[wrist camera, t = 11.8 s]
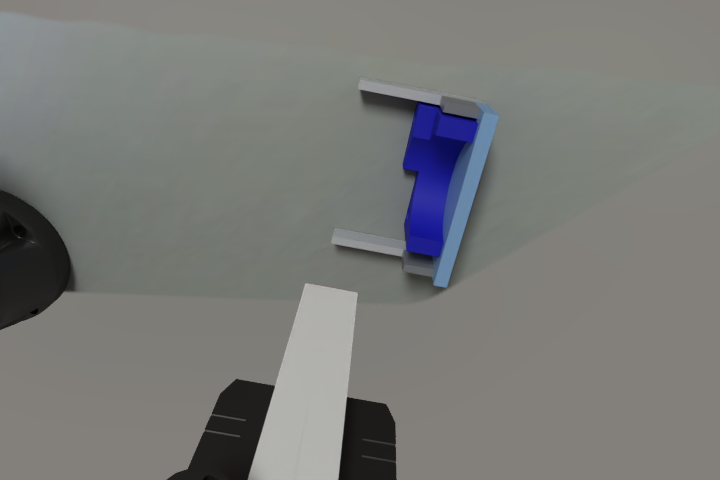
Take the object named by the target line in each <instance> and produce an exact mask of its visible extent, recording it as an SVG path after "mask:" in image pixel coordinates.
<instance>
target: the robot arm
mask: <svg viewBox="0 0 720 480" xmlns="http://www.w3.org/2000/svg"><path fill="white" fill-rule="evenodd" d="M68 278H69V261H68V256H67V253H66V250H65V247H64V245H63V243H62V241H61V239H60V237H59V236H58V234H57V233H56V231H55V230H54V228H53V227H52V226H51V225H50V223H49V222H48V221H47V220H46V219H45V218H44V217H43V216H42V215H41V214H40V213H39V212H38V211H36V210H35V209H34V208H33V207H31V206H30V205H29V204H27V203H26V202H24V201H22V200H21V199H19V198H17V197H15V196H13V195H11V194H9V193H7V192H4V191H1V190H0V330H1V329H4V328H6V327H9V326H11V325H14V324H16V323H18V322H21V321H24V320H27V319H29V318H32V317H34V316H36V315H38V314H40V313H41V312H42V311H44V310H45V309H46V308H47V307H49V306H50V305H51V304H52V303H53V302H54V301H56V300H57V299H58V298H59V297H60V296H61V294H62V293H63V291H64V290H65V288H66V285H67V282H68ZM357 294H358V293H356V292H351V291H345V290H340V289H334V288H329V287H323V286H318V285H312V284H307V283H306V284H305V287H304V290H303V294H302V297H301V301H300V304H299V308H298V311H297V314H296V318H295V321H294V324H293V328H292V331H291V335H290V338H289V341H288V345H287V348H286V351H285V355H284V358H283V362H282V365H281V369H280V372H279V375H278V379H277V382H276V385H275V386H273V385H267V384H261V383H255V382H250V381H244V380H238V379H236V380H235V381H234V382H233V383H231V384H230V385H229V386H228V387H227V388H226V389H225V390H224V391H223V392H222V393H221V394H220V396H219V398H218V400H217V402H216V405H215V407H214V409H213V412H212V415H211V417H210V419H209V421H208V423H207V426H206V428H205V432H204V433H203V435H202V437H201V439H200V442H199V444H198V447H197V449H196V451H195V453H194V456H193V458H192V460H191V463H190V465H189V467H188V469H187V470H184V471H181V472H178V473H175V474H174V475H173V476H171V477H170V478H168V479H167V480H396V447H395V444H396V439H395V437H396V435H395V422H394V419H393V417H392V415H391V413H390V411H389V409H388V407H387V405H386V404H383V403H377V402H371V401H366V400H359V399H354V398H349V397H347V391H348V381H349V371H350V362H351V361H350V360H351V352H352V342H353V333H354V323H355V313H356V303H357Z"/></svg>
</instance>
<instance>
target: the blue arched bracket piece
mask: <svg viewBox="0 0 720 480" xmlns="http://www.w3.org/2000/svg"><path fill="white" fill-rule="evenodd" d="M477 127H478V123H477V122H476V120H475V119H474V118H471V117H466V116H461V115H456V114H451V113H446V112H443V111H442V109H441V107H440V105H436V104H431V103H426V102H421V101H417V105H416V109H415V114H414V118H413V122H412V126H411V131H410V135H409V139H408V144H407V148H406V152H405V157H404V161H403V169H409V170H414V171H417V175H416V179H415V183H414V187H413V191H412V195H411V199H410V203H409V207H408V211H407V215H406V219H405V223H404V228H405V241H406V251H410V252H415V253H420V254H426V255H431V256H436V257H439V256H440V253H441V250H442V246H443V243H444V241H443V216H444V208H445V202H446V197H447V192H448V188H449V184H450V180H451V176H452V173H453V170H454V167H455V164H456V161H457V159H458V156H459V154H460V152H461V150H462V148H463V147H464V145H465V144H466V143H467V142H472V143H473V140H474V137H475V134H476V130H477Z"/></svg>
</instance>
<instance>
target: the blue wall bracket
mask: <svg viewBox="0 0 720 480" xmlns="http://www.w3.org/2000/svg"><path fill="white" fill-rule="evenodd" d="M358 89H360V90H365V91H370V92H375V93H380V94H385V95H390V96H396V97H401V98H406V99H411V100H416V101H421V102H426V103H431V104H436V105H440V107H441V109H442V111H443V112H446V113H451V114H456V115H461V116H466V117H471V118H474V119H475V120H476V122H477V123H478V127H477V130H476V134H475V137H474V140H473V143H472V142H467V143H466V144H465V145H464V147H463V148H462V150H461V152H460V154H459V156H458V159H457V161H456V164H455V167H454V170H453V173H452V176H451V180H450V184H449V188H448V192H447V197H446V202H445V208H444V216H443V241H444V243H443V246H442V250H441V253H440V256H439V257H436V256H431V255H426V254H420V253H415V252H410V251H406V241H403V240H398V239H392V238H387V237H382V236H376V235H371V234H366V233H360V232H355V231H349V230H344V229H339V228H335V229H334V233H333V238H332V243H331V244H337V245H342V246H348V247H353V248H358V249H364V250H369V251H375V252H380V253H385V254H391V255H396V256H402V270H403V272H408V273H413V274H418V275H424V276H429V277H432V279H433V285H434V286H439V287H445V288H447V285H448V282H449V278H450V275H451V272H452V269H453V265H454V262H455V259H456V255H457V252H458V249H459V246H460V242H461V239H462V236H463V233H464V229H465V226H466V223H467V220H468V216H469V213H470V210H471V207H472V203H473V200H474V197H475V193H476V190H477V187H478V184H479V180H480V177H481V174H482V171H483V167H484V164H485V161H486V158H487V154H488V151H489V148H490V144H491V141H492V138H493V135H494V131H495V128H496V125H497V122H498V118H499V115H498V114H497V113H496V112H495V111H494V110H493V109H492V108H491V107H490V106H489V105H488V104H487V103H486V102H485V101H484V100H479V99H474V98H469V97H464V96H459V95H453V94H448V93H443V92H438V91H433V90H428V89H423V88H418V87H413V86H408V85H403V84H397V83H392V82H387V81H382V80H377V79H372V78H367V77H362V76H361V78H360V82H359V87H358Z"/></svg>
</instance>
